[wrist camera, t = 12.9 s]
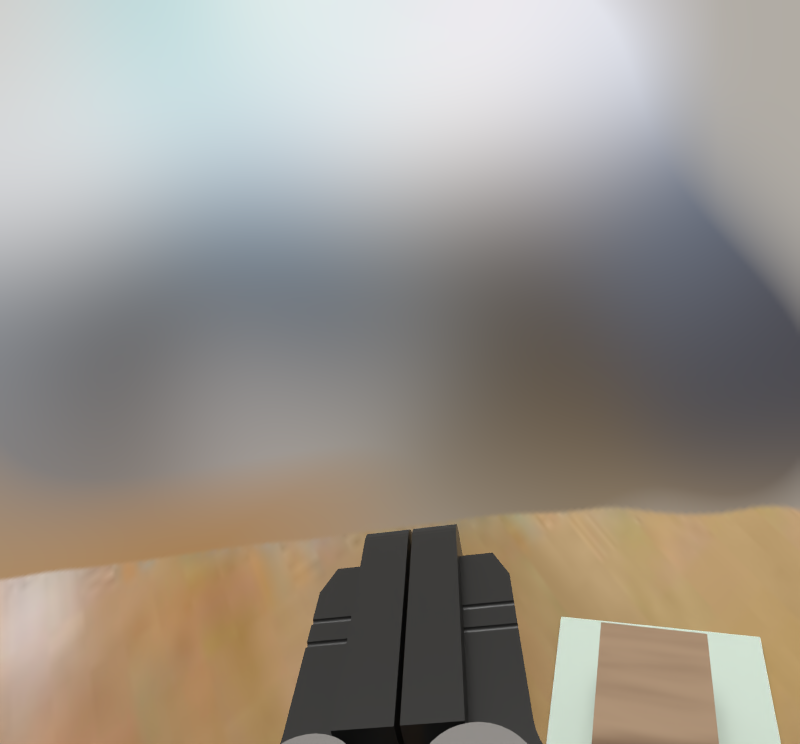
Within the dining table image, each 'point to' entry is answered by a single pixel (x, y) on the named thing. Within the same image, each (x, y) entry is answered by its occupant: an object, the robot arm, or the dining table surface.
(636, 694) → the walnut block
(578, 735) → the sage mat
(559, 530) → the dining table surface
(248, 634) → the dining table surface
